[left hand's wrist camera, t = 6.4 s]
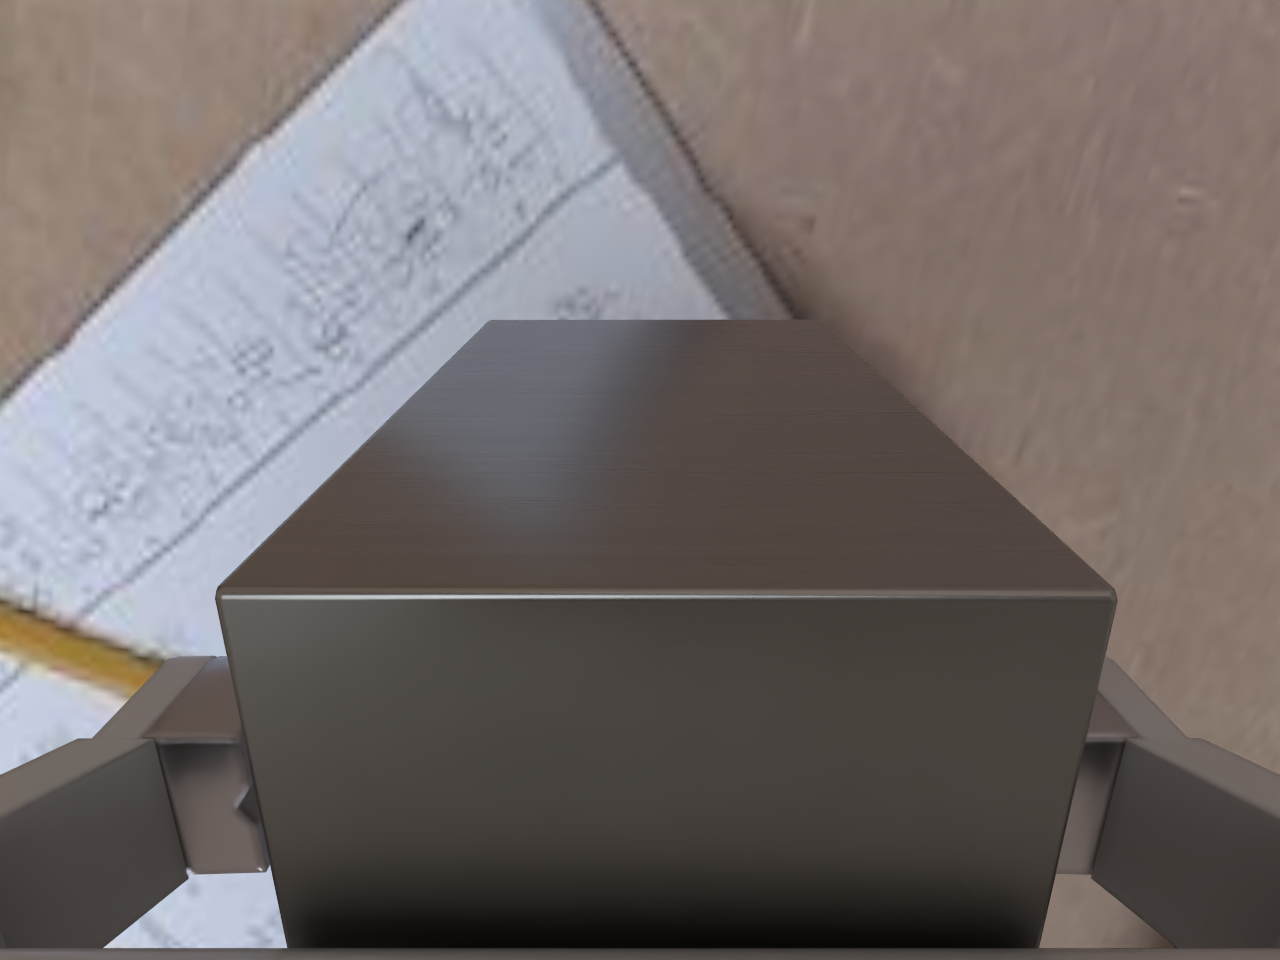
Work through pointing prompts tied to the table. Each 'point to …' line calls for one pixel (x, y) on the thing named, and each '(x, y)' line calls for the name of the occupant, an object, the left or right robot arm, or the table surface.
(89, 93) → the table surface
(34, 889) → the left robot arm
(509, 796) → the bar
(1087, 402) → the table surface
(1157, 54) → the table surface
